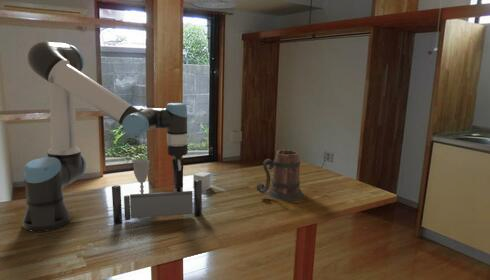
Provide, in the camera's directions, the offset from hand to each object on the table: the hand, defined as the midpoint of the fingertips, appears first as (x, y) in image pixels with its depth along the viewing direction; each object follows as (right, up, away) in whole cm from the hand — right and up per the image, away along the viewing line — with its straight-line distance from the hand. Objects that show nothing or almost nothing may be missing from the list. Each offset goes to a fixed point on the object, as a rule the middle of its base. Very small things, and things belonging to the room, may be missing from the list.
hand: (178, 202), depth 142 cm
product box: (+6, +1, +32) cm, 32 cm away
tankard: (+42, -1, +26) cm, 49 cm away
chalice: (-18, -2, +13) cm, 22 cm away
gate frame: (-7, -5, -3) cm, 9 cm away
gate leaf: (-6, -5, -4) cm, 9 cm away
